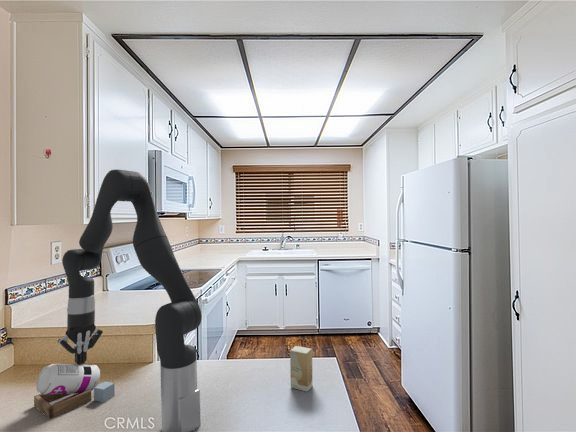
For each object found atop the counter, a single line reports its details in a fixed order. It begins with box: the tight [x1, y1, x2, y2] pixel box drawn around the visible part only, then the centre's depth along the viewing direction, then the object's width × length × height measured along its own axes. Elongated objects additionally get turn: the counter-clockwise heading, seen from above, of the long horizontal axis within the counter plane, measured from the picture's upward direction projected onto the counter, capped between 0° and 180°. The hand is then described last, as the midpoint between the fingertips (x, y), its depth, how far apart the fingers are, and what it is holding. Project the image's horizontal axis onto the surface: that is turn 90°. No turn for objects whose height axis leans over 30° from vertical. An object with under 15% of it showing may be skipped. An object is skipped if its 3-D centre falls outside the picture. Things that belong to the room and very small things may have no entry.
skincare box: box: [289, 345, 313, 393], centre depth 103 cm, size 6×4×12 cm
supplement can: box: [35, 363, 101, 395], centre depth 100 cm, size 8×8×15 cm
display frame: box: [33, 390, 92, 420], centre depth 98 cm, size 12×11×3 cm
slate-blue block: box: [93, 381, 116, 403], centre depth 100 cm, size 4×4×4 cm
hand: (80, 363), depth 103 cm, fingers closed
